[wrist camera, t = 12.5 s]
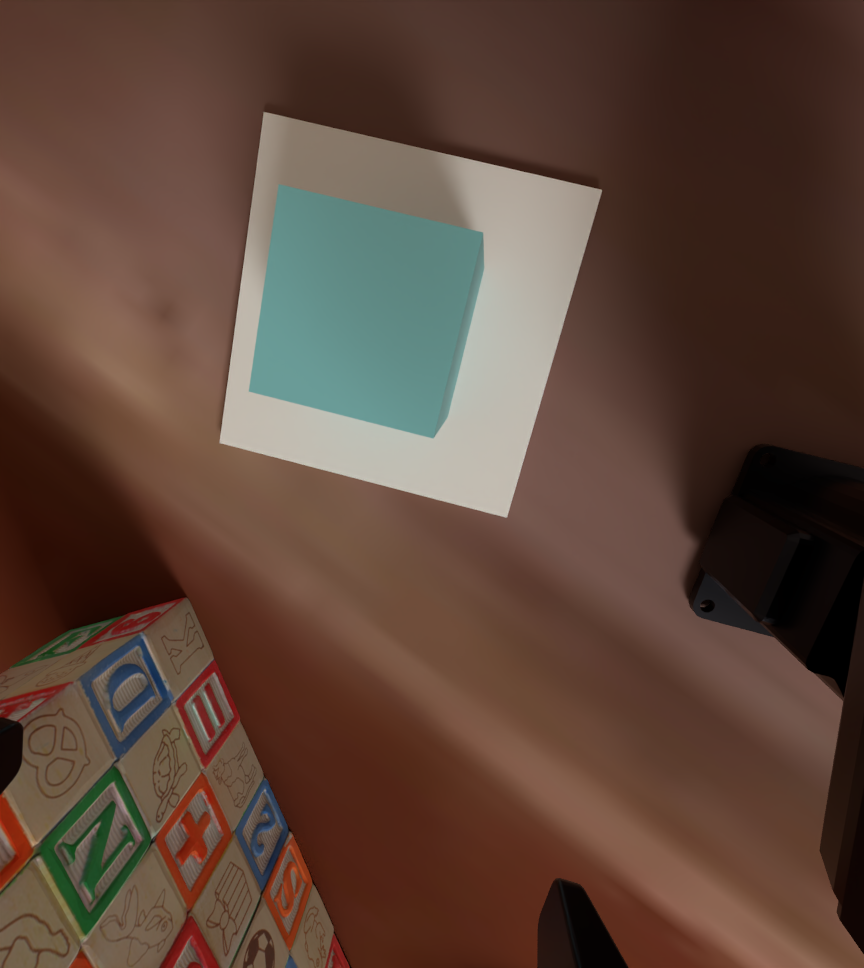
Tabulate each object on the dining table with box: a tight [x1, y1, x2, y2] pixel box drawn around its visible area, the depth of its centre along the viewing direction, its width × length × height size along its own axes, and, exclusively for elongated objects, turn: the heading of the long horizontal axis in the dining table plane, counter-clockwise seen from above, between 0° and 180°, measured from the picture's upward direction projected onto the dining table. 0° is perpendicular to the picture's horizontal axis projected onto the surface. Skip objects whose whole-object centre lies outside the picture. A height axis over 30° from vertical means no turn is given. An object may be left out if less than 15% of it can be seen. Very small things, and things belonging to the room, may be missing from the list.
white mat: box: [220, 112, 602, 518], centre depth 18 cm, size 11×11×1 cm
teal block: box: [249, 184, 484, 438], centre depth 15 cm, size 5×5×5 cm
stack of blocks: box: [0, 597, 350, 968], centre depth 18 cm, size 21×6×12 cm, turn 18°
